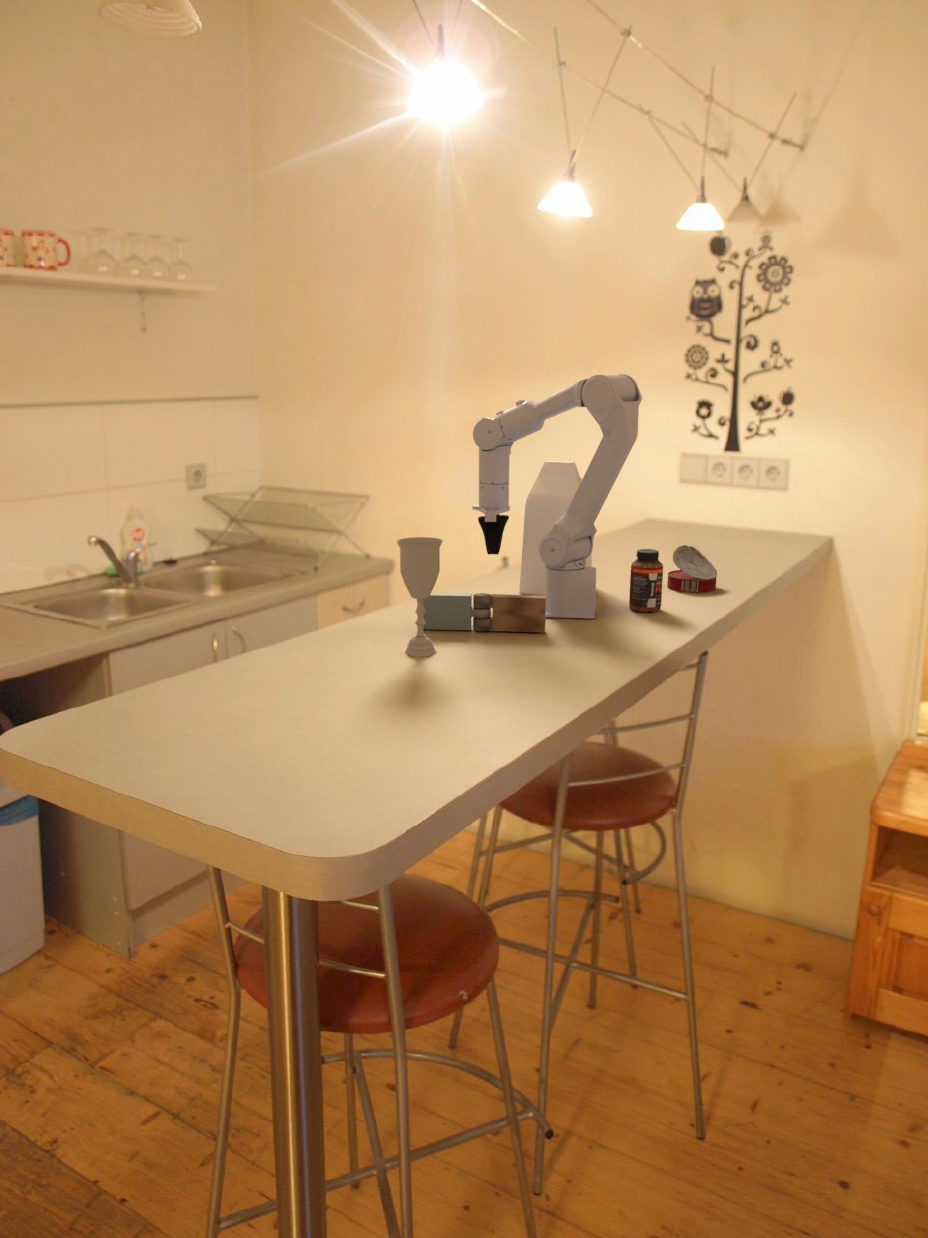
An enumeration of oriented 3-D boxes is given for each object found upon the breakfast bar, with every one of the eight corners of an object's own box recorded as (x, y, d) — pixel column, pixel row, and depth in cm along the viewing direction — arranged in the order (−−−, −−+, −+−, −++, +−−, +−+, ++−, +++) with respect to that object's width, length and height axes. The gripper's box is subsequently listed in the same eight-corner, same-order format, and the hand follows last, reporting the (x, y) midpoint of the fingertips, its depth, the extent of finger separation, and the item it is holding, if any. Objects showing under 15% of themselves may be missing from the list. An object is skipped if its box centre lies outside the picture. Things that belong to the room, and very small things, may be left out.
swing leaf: (491, 626, 174) (491, 593, 172) (489, 631, 171) (490, 597, 169) (420, 625, 175) (420, 591, 173) (418, 629, 172) (417, 595, 171)
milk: (519, 593, 201) (521, 463, 195) (537, 581, 211) (539, 458, 205) (576, 598, 197) (581, 465, 190) (592, 586, 207) (596, 460, 200)
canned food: (700, 605, 211) (725, 564, 209) (707, 612, 201) (733, 568, 200) (653, 579, 211) (678, 538, 210) (658, 584, 201) (683, 541, 200)
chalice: (408, 660, 155) (407, 546, 151) (391, 649, 161) (389, 539, 157) (450, 654, 159) (450, 542, 154) (432, 643, 164) (431, 535, 160)
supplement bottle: (660, 614, 184) (664, 553, 181) (628, 612, 185) (630, 552, 183) (661, 606, 190) (664, 548, 187) (629, 605, 191) (632, 546, 188)
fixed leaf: (545, 628, 173) (546, 595, 171) (544, 633, 170) (545, 598, 168) (474, 626, 174) (474, 592, 173) (472, 630, 171) (472, 596, 170)
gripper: (476, 478, 195) (476, 546, 199) (468, 486, 181) (468, 560, 185) (512, 478, 195) (511, 547, 198) (507, 487, 181) (506, 561, 184)
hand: (493, 553), depth 191 cm, fingers closed
